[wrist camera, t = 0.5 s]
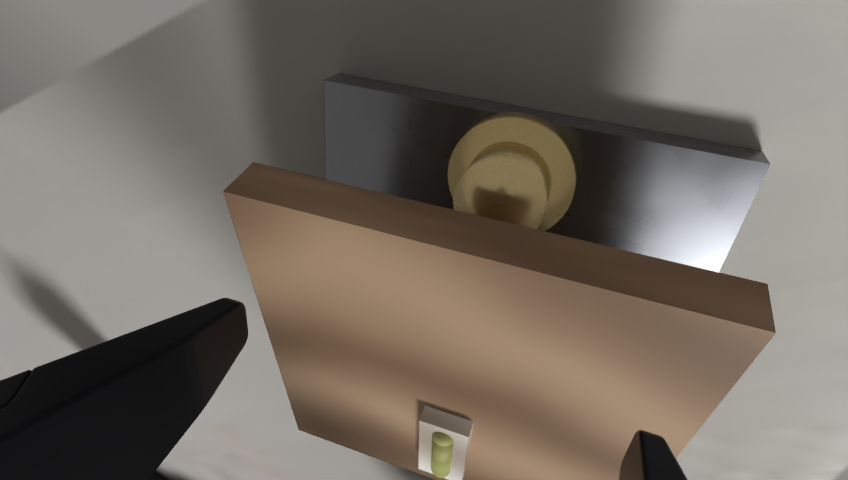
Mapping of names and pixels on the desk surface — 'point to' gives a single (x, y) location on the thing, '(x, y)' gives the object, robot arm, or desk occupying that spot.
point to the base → (607, 160)
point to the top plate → (483, 333)
